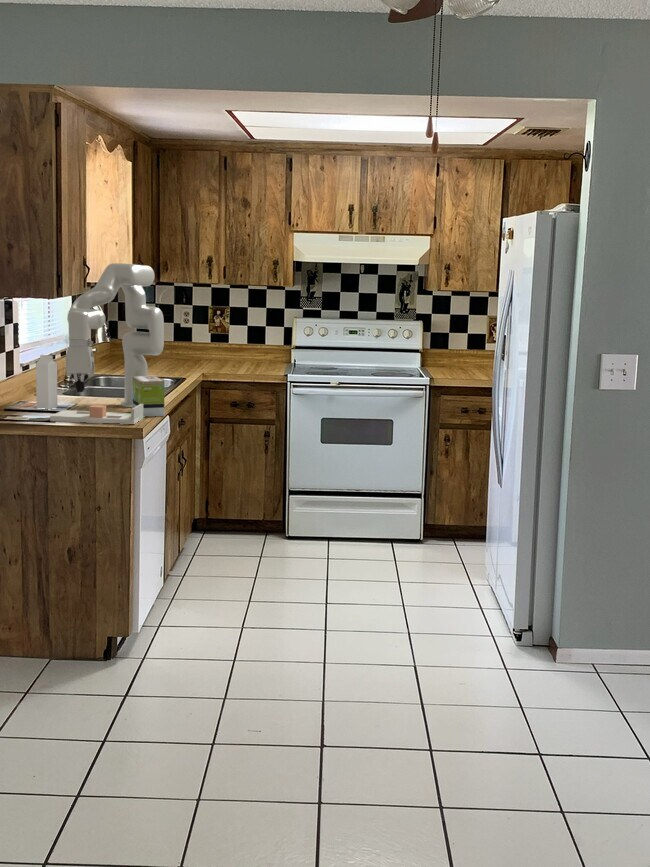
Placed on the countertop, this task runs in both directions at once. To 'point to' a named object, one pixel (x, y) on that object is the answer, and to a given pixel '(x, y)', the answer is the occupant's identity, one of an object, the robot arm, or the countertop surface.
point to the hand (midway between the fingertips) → (80, 391)
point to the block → (97, 411)
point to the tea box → (149, 395)
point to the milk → (46, 382)
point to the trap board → (109, 418)
